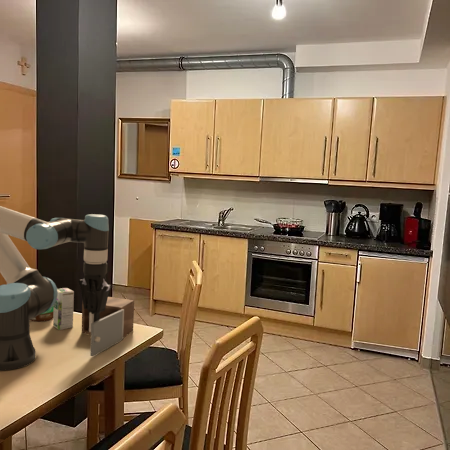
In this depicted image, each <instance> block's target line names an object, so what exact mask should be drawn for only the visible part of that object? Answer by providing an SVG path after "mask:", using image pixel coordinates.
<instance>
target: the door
mask: <svg viewBox="0 0 450 450" xmlns="http://www.w3.org/2000/svg"><path fill="white" fill-rule="evenodd" d="M123 329H124V309H121V310H119V311H117V312H115V313H113V314H111V315H108V316H106V317H104V318H102V319H100V320H97V321H95V322H93V323H91V335H90V355H89V356H90V357H95V356H97V355H99V353H102V352H103V351H105V350H107V349H108V348H111V347H113V346H114V345H116V344H118V343H119V342H121V341H122V340H123V341H124V338H123Z"/></svg>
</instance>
